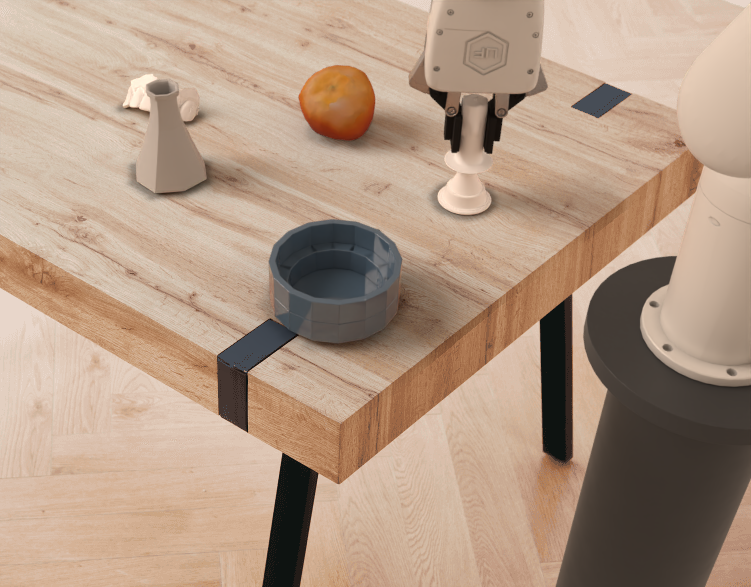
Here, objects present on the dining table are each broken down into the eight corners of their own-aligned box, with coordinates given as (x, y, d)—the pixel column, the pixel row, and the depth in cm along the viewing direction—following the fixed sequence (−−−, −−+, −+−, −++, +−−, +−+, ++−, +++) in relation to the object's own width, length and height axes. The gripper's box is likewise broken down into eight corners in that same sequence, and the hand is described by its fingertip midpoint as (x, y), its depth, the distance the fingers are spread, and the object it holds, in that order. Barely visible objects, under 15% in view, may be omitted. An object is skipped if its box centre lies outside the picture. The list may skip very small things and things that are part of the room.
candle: (498, 212, 106) (512, 106, 98) (446, 218, 105) (456, 112, 97) (481, 181, 109) (494, 77, 102) (430, 187, 108) (439, 82, 100)
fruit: (396, 103, 117) (382, 64, 110) (366, 165, 115) (349, 129, 108) (332, 83, 120) (313, 43, 112) (301, 144, 118) (280, 107, 111)
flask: (124, 164, 109) (112, 77, 103) (191, 147, 112) (183, 61, 105) (149, 203, 105) (139, 114, 98) (218, 183, 107) (212, 96, 101)
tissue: (172, 134, 114) (169, 103, 111) (118, 109, 117) (113, 78, 114) (207, 112, 117) (205, 81, 115) (153, 88, 120) (150, 57, 118)
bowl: (420, 289, 97) (424, 246, 93) (358, 365, 89) (359, 321, 86) (314, 248, 100) (314, 205, 97) (246, 317, 93) (243, 273, 90)
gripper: (397, -22, 87) (386, 166, 100) (594, -15, 88) (559, 170, 100) (394, -60, 93) (385, 122, 105) (580, -54, 94) (549, 126, 106)
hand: (470, 144), depth 103 cm, fingers closed on candle, 2 cm apart
